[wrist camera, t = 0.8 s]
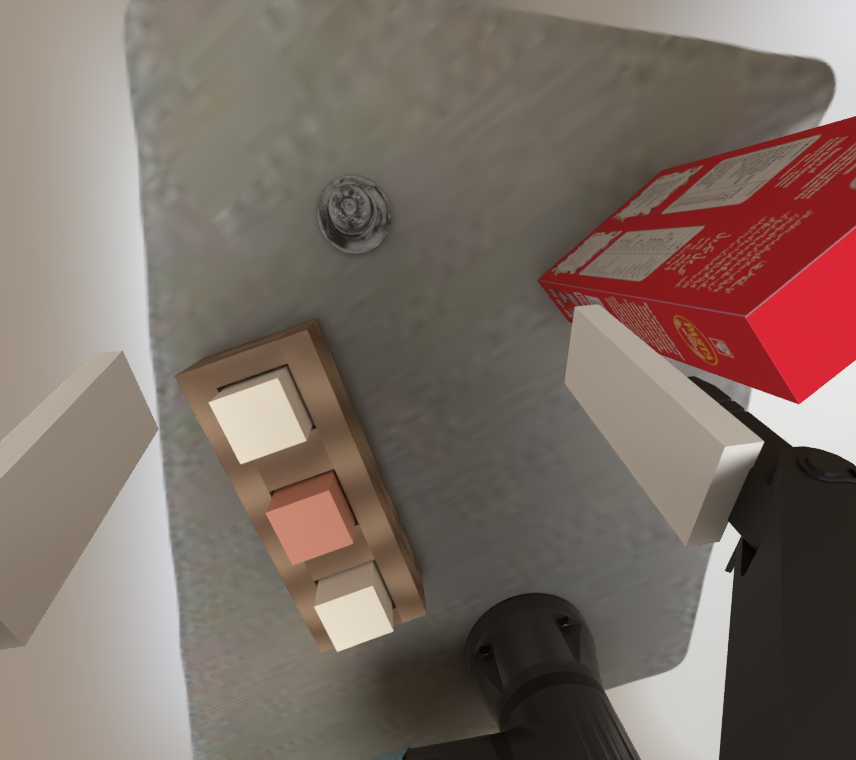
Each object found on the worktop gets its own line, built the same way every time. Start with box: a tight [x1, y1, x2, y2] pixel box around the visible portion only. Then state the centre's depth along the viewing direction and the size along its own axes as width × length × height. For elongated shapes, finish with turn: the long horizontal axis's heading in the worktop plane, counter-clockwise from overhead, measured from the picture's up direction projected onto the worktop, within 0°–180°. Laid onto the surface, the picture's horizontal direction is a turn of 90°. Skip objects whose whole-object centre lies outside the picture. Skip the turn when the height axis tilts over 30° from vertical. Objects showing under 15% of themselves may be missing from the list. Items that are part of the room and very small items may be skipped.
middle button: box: [266, 469, 356, 565], centre depth 39 cm, size 5×5×4 cm
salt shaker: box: [317, 176, 391, 253], centre depth 34 cm, size 6×6×12 cm
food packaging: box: [537, 116, 856, 404], centre depth 31 cm, size 15×5×25 cm, turn 131°
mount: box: [175, 319, 427, 653], centre depth 43 cm, size 30×11×6 cm, turn 19°
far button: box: [314, 559, 394, 652], centre depth 42 cm, size 5×5×4 cm
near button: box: [208, 365, 313, 464], centre depth 36 cm, size 5×5×4 cm
